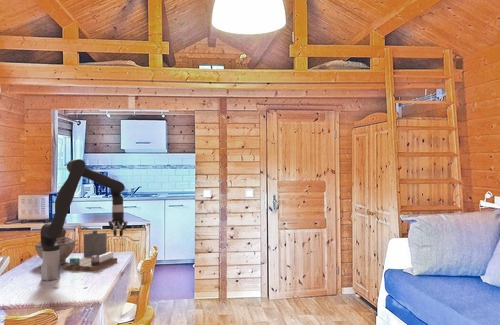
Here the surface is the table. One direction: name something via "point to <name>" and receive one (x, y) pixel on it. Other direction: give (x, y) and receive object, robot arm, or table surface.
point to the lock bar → (101, 258)
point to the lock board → (87, 264)
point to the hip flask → (95, 243)
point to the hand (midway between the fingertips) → (118, 236)
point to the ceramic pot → (65, 247)
